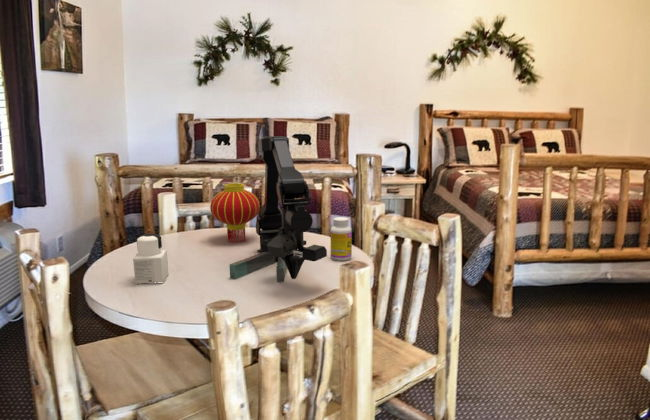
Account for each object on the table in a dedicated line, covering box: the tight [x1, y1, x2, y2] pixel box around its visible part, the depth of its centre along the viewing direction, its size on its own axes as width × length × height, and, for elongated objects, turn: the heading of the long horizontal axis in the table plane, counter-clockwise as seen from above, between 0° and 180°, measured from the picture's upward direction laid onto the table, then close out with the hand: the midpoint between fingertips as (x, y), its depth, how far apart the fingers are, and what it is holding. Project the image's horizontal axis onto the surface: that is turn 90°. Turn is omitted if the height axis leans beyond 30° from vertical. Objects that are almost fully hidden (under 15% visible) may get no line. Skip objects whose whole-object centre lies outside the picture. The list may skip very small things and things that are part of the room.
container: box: [132, 233, 169, 283], centre depth 156 cm, size 8×8×13 cm
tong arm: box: [275, 257, 288, 283], centre depth 162 cm, size 2×18×4 cm, turn 1°
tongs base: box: [228, 252, 279, 280], centre depth 165 cm, size 4×22×4 cm, turn 145°
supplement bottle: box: [330, 216, 353, 262], centre depth 174 cm, size 7×7×13 cm
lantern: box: [209, 164, 261, 244], centre depth 195 cm, size 17×17×30 cm
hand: (293, 278), depth 153 cm, fingers closed
